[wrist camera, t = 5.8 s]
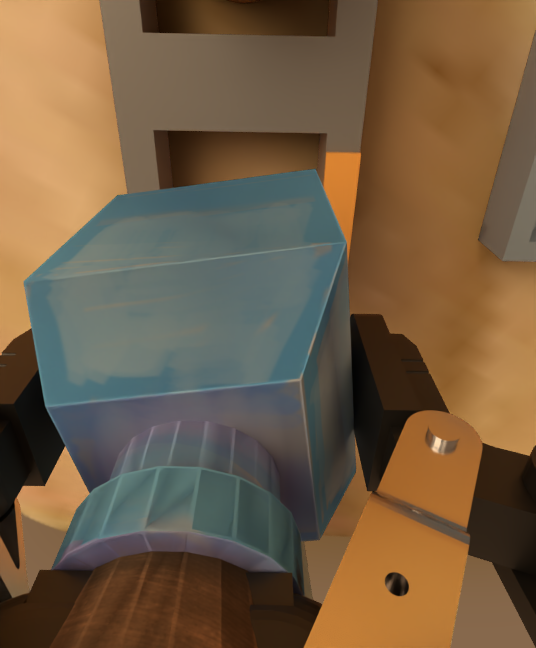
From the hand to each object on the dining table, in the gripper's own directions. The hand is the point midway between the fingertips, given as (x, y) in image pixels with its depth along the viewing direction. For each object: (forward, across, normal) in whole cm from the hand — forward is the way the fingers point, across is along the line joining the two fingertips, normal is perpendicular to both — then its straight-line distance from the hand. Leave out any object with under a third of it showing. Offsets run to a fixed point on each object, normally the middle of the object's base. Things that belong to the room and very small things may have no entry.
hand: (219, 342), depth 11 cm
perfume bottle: (+5, 0, 0) cm, 5 cm away
